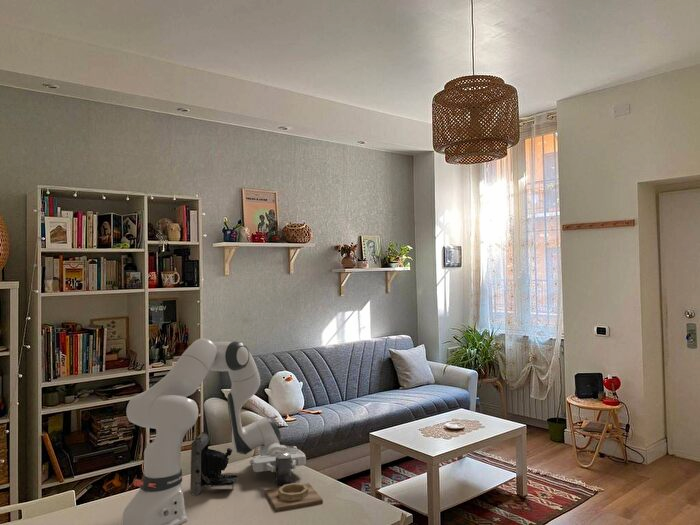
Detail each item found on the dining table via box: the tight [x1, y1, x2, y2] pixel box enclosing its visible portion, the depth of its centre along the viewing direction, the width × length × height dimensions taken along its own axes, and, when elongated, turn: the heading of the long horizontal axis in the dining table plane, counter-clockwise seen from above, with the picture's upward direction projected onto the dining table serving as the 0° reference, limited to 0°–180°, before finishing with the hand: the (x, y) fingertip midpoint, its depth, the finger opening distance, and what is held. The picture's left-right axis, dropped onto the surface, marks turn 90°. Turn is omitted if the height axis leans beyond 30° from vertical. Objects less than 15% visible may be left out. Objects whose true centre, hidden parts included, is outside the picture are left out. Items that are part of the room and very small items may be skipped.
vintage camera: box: [190, 431, 240, 496], centre depth 193 cm, size 10×16×20 cm, turn 89°
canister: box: [275, 451, 292, 487], centre depth 198 cm, size 6×6×11 cm
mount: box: [265, 482, 324, 512], centre depth 184 cm, size 16×16×3 cm
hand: (283, 468), depth 197 cm, fingers open, 6 cm apart
